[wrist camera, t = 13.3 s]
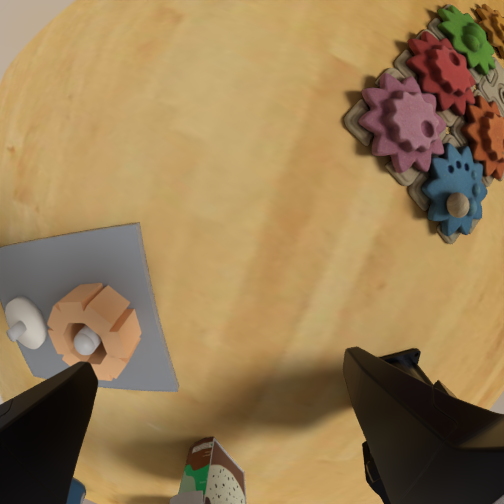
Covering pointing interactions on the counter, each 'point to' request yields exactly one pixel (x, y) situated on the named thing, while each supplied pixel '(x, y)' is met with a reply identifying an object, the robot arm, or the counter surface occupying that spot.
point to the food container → (211, 476)
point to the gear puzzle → (442, 117)
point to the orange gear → (96, 328)
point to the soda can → (76, 492)
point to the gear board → (68, 278)
